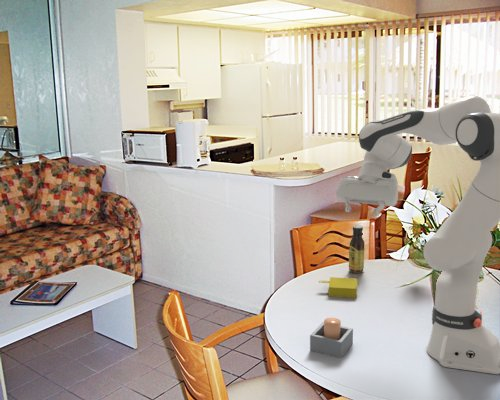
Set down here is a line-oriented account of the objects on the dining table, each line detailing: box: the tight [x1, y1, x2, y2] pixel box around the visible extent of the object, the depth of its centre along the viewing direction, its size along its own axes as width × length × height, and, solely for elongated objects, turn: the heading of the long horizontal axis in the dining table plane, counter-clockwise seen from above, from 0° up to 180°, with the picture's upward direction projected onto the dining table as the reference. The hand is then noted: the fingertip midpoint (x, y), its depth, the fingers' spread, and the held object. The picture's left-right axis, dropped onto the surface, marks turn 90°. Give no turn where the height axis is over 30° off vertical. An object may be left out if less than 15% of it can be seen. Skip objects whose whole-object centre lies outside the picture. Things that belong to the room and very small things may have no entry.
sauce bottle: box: [348, 224, 365, 274], centre depth 229 cm, size 7×6×20 cm
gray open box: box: [309, 321, 354, 359], centre depth 169 cm, size 10×10×5 cm
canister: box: [323, 317, 342, 340], centre depth 169 cm, size 5×5×8 cm
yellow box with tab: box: [318, 276, 359, 299], centre depth 211 cm, size 16×8×15 cm
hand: (361, 213), depth 179 cm, fingers open, 8 cm apart
